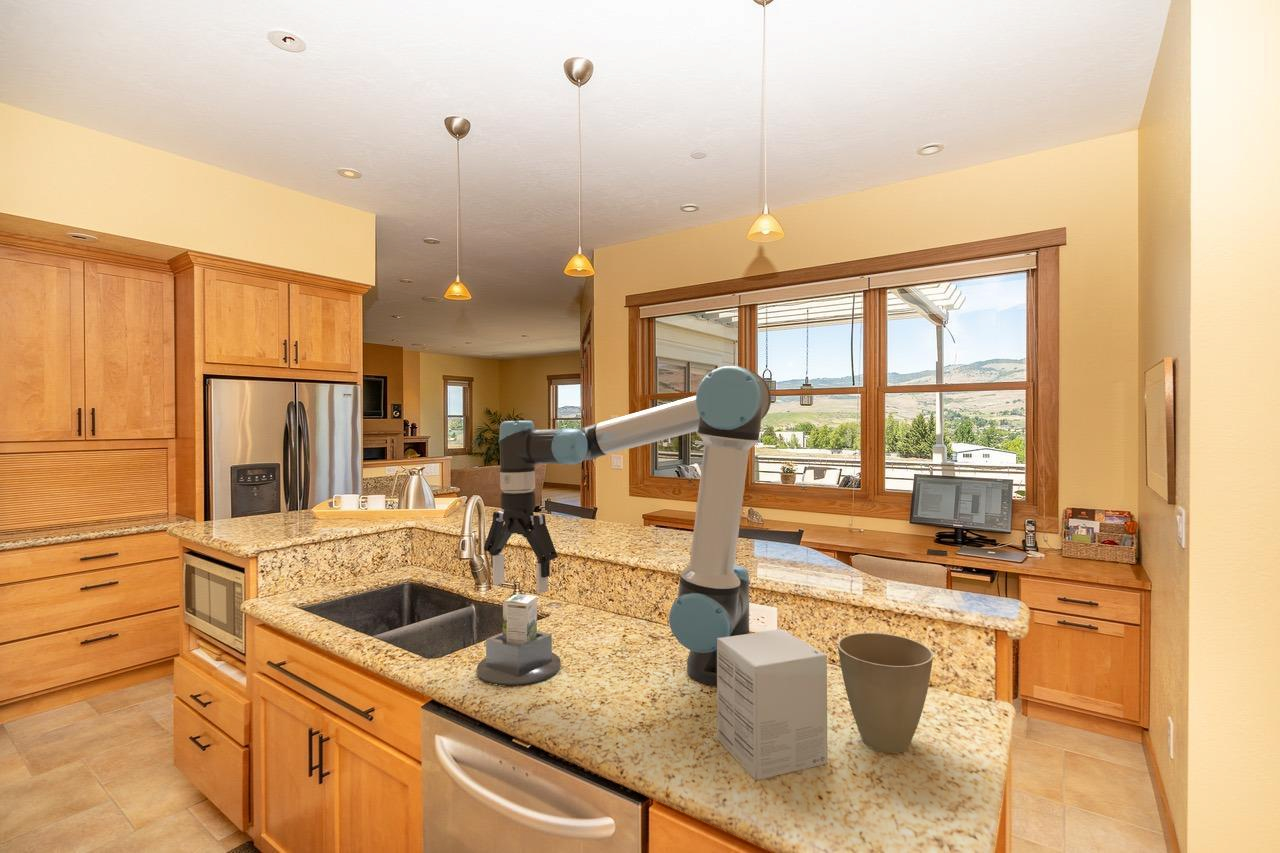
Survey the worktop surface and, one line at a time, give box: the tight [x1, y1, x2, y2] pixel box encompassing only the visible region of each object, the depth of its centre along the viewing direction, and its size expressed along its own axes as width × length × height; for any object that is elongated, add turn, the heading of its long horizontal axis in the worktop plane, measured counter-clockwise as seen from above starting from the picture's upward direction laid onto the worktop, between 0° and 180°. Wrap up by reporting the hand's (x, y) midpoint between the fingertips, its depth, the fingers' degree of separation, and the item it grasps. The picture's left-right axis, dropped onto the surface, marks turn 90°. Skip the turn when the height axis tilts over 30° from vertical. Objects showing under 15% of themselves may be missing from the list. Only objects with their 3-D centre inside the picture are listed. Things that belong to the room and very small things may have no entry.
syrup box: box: [502, 594, 538, 646], centre depth 134 cm, size 6×6×14 cm
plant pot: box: [837, 632, 934, 754], centre depth 102 cm, size 15×15×16 cm
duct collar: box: [476, 630, 562, 687], centre depth 134 cm, size 18×18×7 cm
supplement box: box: [716, 628, 829, 781], centre depth 100 cm, size 13×13×18 cm
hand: (520, 587), depth 133 cm, fingers open, 13 cm apart
